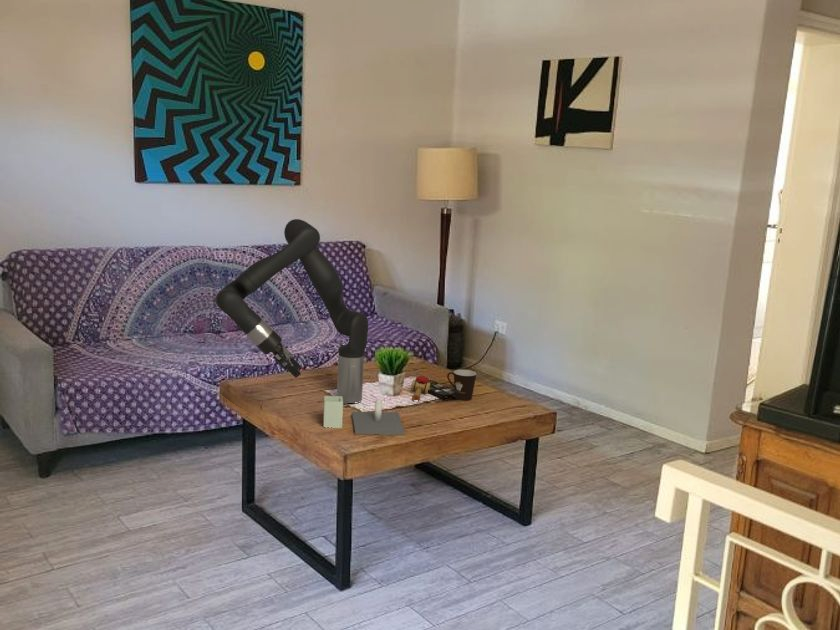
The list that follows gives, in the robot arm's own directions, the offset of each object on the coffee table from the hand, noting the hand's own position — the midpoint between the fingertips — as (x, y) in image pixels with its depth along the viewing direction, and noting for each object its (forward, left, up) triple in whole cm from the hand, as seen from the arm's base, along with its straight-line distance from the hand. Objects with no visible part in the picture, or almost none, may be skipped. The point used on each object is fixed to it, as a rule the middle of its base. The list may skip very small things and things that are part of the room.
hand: (298, 372), depth 261 cm
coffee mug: (-32, +62, -18) cm, 72 cm away
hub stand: (0, +27, -18) cm, 32 cm away
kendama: (-34, +46, -18) cm, 60 cm away
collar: (0, +12, -18) cm, 22 cm away
